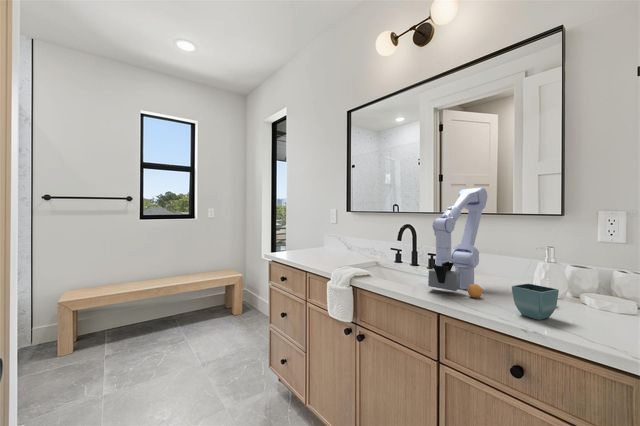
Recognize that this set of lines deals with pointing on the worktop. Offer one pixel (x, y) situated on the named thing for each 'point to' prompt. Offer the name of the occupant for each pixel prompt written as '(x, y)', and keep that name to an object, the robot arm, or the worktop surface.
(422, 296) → the worktop surface
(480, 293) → the ball
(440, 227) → the robot arm
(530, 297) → the flower pot
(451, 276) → the gray rectangular block
